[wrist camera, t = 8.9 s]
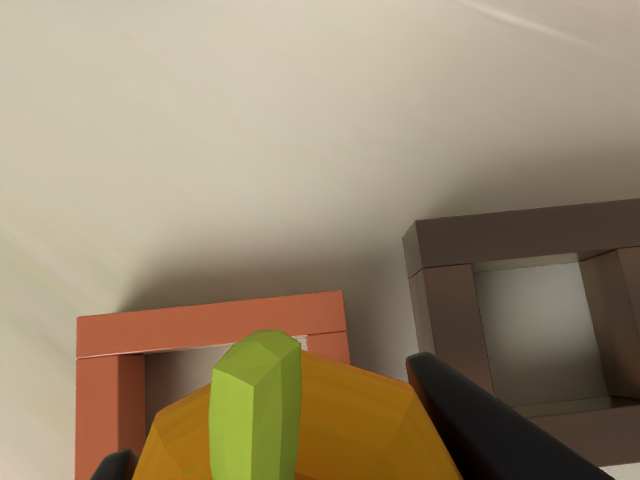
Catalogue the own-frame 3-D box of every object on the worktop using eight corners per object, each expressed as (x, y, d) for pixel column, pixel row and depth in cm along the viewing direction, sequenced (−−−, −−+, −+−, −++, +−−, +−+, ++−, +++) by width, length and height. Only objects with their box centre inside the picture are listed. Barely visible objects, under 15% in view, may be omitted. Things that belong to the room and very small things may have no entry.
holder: (367, 553, 20) (376, 587, 17) (109, 584, 19) (72, 625, 16) (338, 298, 22) (342, 289, 19) (108, 321, 22) (76, 316, 19)
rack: (843, 419, 21) (928, 429, 18) (435, 466, 20) (455, 484, 17) (770, 200, 23) (835, 178, 20) (402, 237, 23) (415, 219, 20)
